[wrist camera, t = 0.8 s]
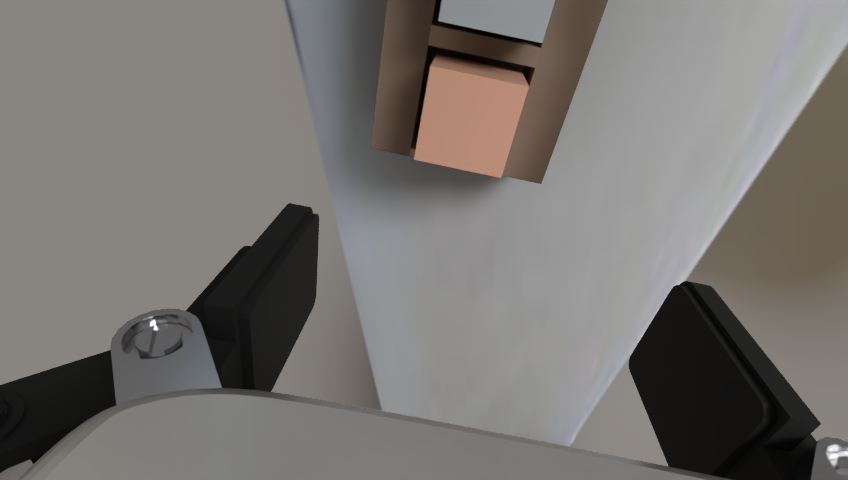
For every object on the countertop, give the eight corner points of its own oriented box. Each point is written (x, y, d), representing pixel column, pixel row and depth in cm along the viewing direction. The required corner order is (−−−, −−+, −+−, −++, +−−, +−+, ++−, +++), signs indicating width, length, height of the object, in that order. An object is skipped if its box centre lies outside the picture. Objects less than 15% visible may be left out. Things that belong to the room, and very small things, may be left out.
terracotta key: (436, 53, 24) (430, 65, 21) (521, 71, 24) (529, 86, 21) (421, 136, 27) (413, 159, 23) (498, 153, 27) (501, 178, 23)
